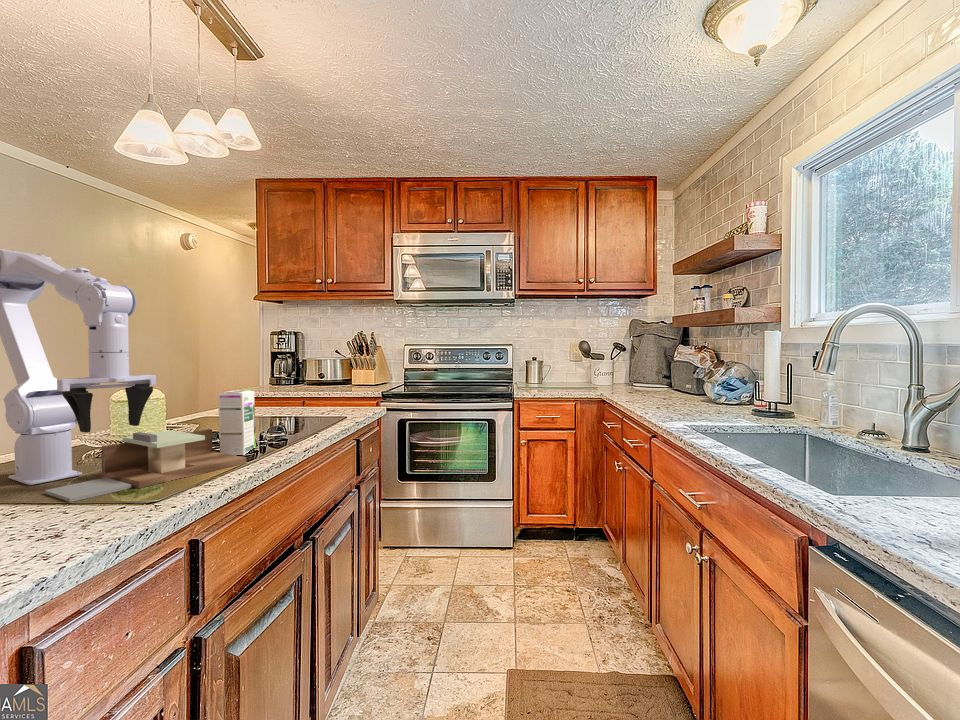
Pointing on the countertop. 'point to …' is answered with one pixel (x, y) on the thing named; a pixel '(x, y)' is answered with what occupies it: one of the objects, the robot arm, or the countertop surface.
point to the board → (133, 469)
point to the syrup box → (237, 422)
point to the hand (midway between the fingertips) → (110, 428)
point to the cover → (162, 438)
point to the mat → (87, 489)
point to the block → (166, 458)
